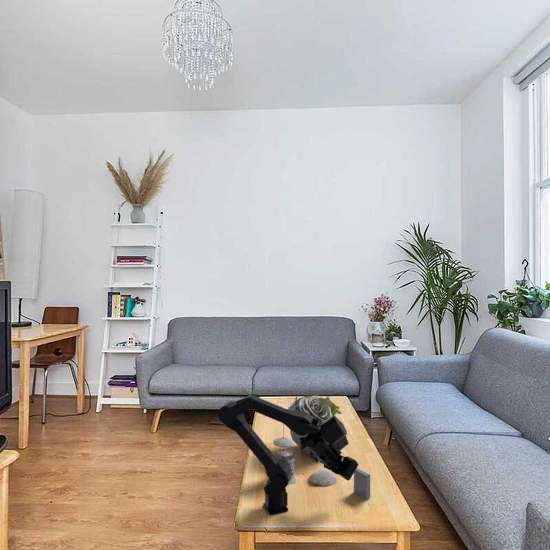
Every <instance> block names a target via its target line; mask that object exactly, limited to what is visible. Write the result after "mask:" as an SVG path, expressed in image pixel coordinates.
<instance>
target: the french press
mask: <svg viewBox="0 0 550 550" xmlns="http://www.w3.org/2000/svg"><path fill="white" fill-rule="evenodd" d="M282 425H283V427H282V428H283V430H282V431H283V434H282V436H281V437H277V438H275V439H273V441H272V444H273V445H274V446H275V447H278V448H283V449H277V450H275V451H274V452H273V455H275V456H276V457H278V458H280V457H281V456H283V457H284V458H285V460H286V461H287V462H288V463H289V464H291V465H290V467H291V469H292V476H291V478H290V481H289V483H288V485H287V486H290V485H289V484H291V485H293V484H295V483H296V482H297V480H296V479H297V477H296V476H295V462H294V461H295V456H294V453H293V451H292V450H289V449H285V448H289V447H292V446H293V445H294V444H295V442H294V441H293V440H292V438H290V437H287V436H285V424H283V423H282ZM295 481H296V482H295ZM294 482H295V483H294ZM292 483H293V484H292Z"/></svg>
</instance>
